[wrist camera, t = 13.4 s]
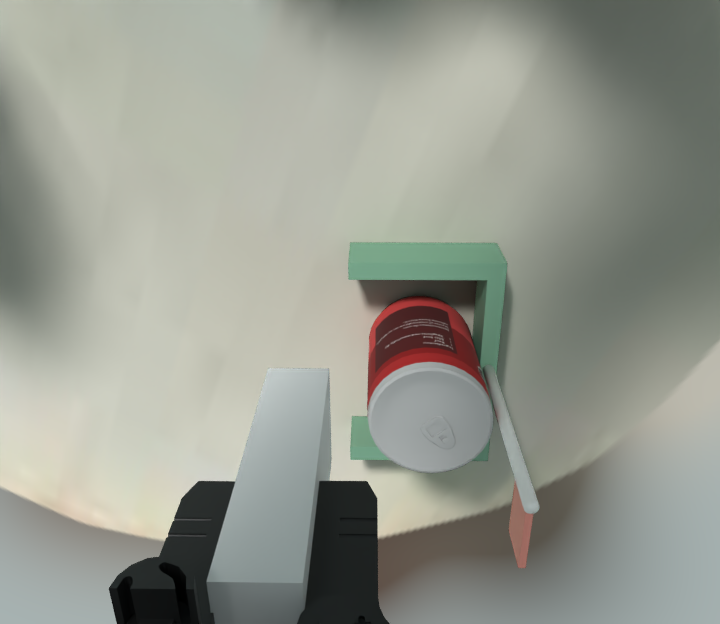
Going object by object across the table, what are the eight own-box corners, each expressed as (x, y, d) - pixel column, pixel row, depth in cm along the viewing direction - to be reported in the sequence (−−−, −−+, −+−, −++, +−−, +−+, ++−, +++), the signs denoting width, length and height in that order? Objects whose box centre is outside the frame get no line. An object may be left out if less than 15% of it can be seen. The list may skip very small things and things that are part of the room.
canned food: (427, 400, 52) (439, 493, 42) (347, 345, 50) (340, 430, 40) (492, 333, 49) (522, 416, 39) (411, 272, 47) (420, 343, 37)
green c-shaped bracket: (350, 242, 46) (337, 371, 30) (496, 243, 46) (563, 372, 30) (352, 428, 53) (342, 615, 37) (479, 429, 53) (526, 618, 37)
